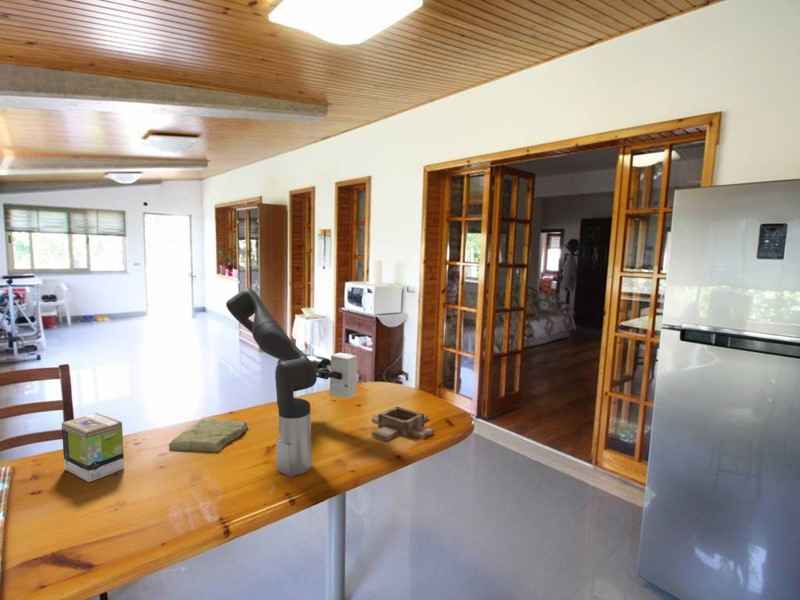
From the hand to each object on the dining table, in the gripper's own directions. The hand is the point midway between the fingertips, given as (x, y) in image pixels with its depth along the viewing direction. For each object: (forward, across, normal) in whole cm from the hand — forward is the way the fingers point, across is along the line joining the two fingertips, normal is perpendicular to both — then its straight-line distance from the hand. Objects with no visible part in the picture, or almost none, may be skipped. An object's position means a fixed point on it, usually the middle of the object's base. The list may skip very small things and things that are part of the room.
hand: (348, 374), depth 152 cm
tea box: (-40, -66, +22) cm, 80 cm away
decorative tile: (-34, -33, +23) cm, 53 cm away
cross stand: (+12, +16, +22) cm, 29 cm away
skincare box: (-2, 0, +8) cm, 9 cm away
